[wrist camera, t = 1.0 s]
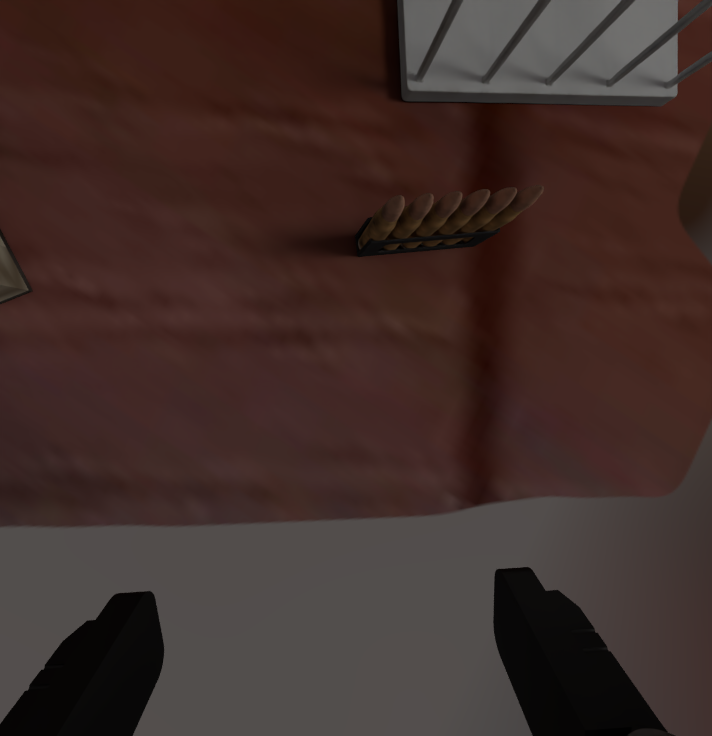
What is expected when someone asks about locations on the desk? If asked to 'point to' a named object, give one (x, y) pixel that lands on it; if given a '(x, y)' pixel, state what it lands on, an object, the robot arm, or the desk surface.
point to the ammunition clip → (441, 221)
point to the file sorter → (543, 51)
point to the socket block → (10, 274)
